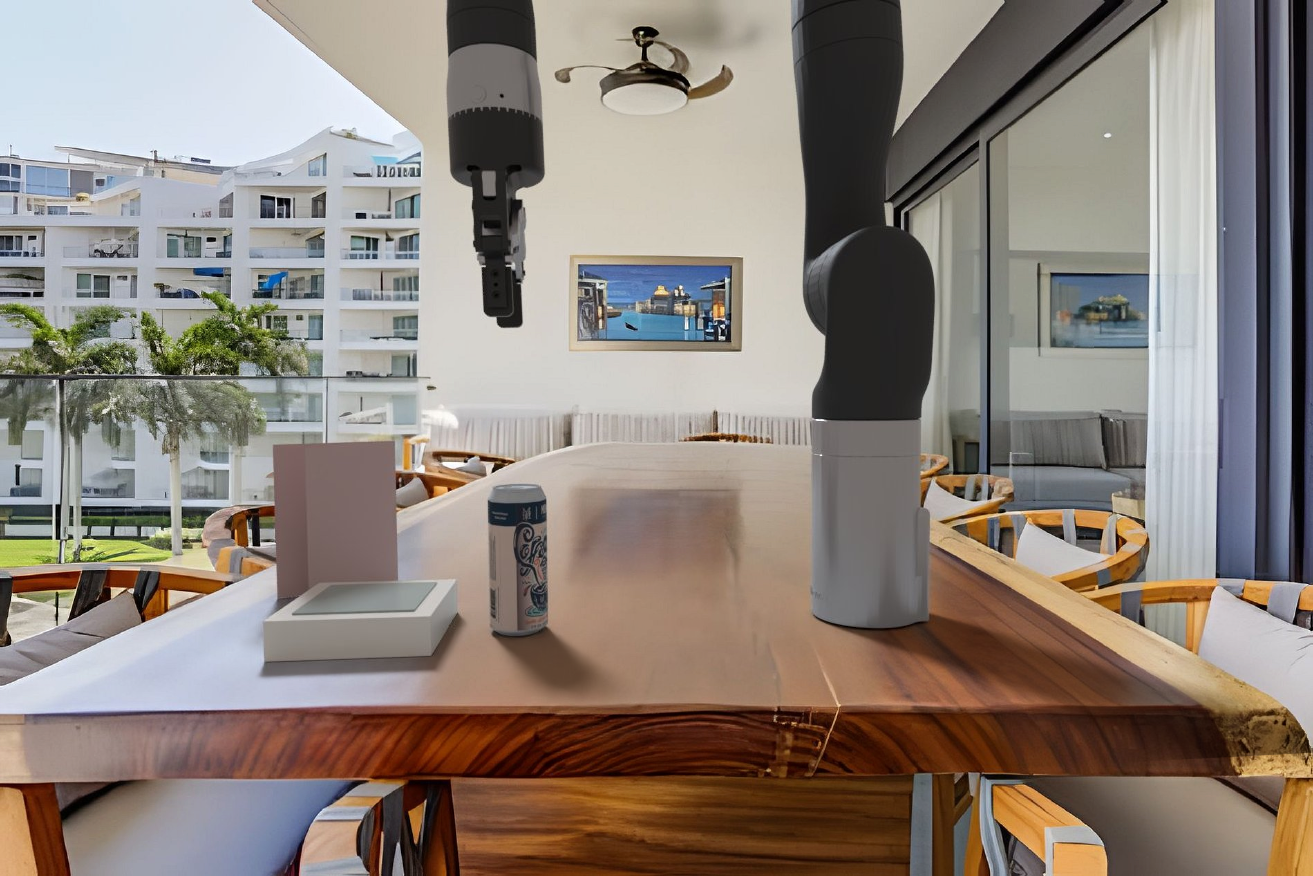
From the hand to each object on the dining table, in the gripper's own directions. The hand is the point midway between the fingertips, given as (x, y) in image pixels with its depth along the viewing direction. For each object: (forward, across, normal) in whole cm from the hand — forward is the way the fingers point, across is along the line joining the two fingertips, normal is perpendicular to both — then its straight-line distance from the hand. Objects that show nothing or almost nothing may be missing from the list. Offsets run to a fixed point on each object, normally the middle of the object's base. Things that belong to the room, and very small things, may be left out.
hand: (504, 322), depth 63 cm
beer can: (+26, 0, 0) cm, 26 cm away
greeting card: (+25, +13, +18) cm, 34 cm away
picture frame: (+25, 0, +12) cm, 28 cm away
